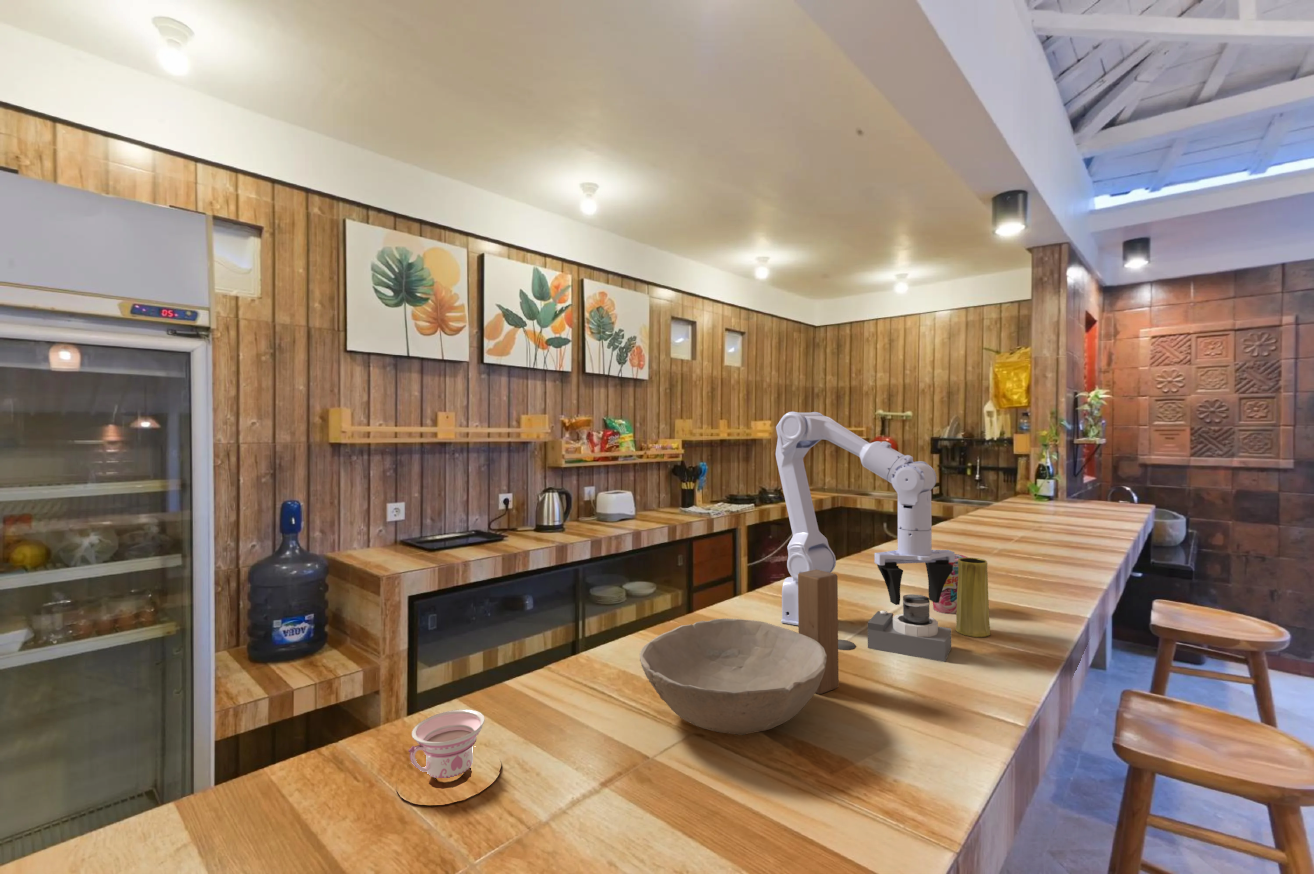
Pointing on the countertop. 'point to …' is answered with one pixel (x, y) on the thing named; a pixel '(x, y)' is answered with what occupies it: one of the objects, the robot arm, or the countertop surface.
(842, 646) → the lens cap
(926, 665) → the countertop surface
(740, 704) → the bowl
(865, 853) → the countertop surface
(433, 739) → the teacup
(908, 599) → the lens
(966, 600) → the vase
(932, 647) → the camera body
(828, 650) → the wooden block
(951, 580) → the cup
